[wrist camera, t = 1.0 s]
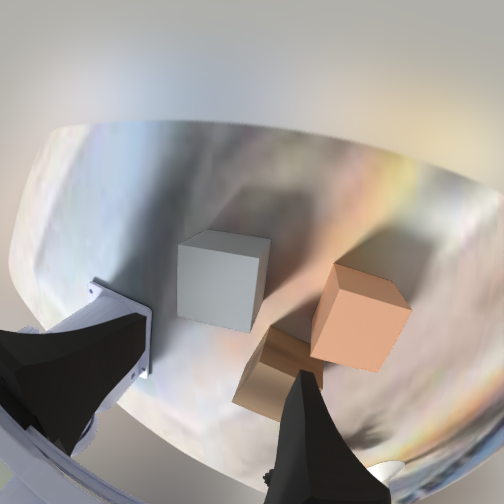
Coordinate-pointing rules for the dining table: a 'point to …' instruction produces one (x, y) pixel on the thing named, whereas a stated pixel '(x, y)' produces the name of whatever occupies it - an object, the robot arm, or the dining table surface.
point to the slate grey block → (222, 278)
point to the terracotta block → (357, 319)
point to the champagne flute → (386, 470)
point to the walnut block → (275, 373)
